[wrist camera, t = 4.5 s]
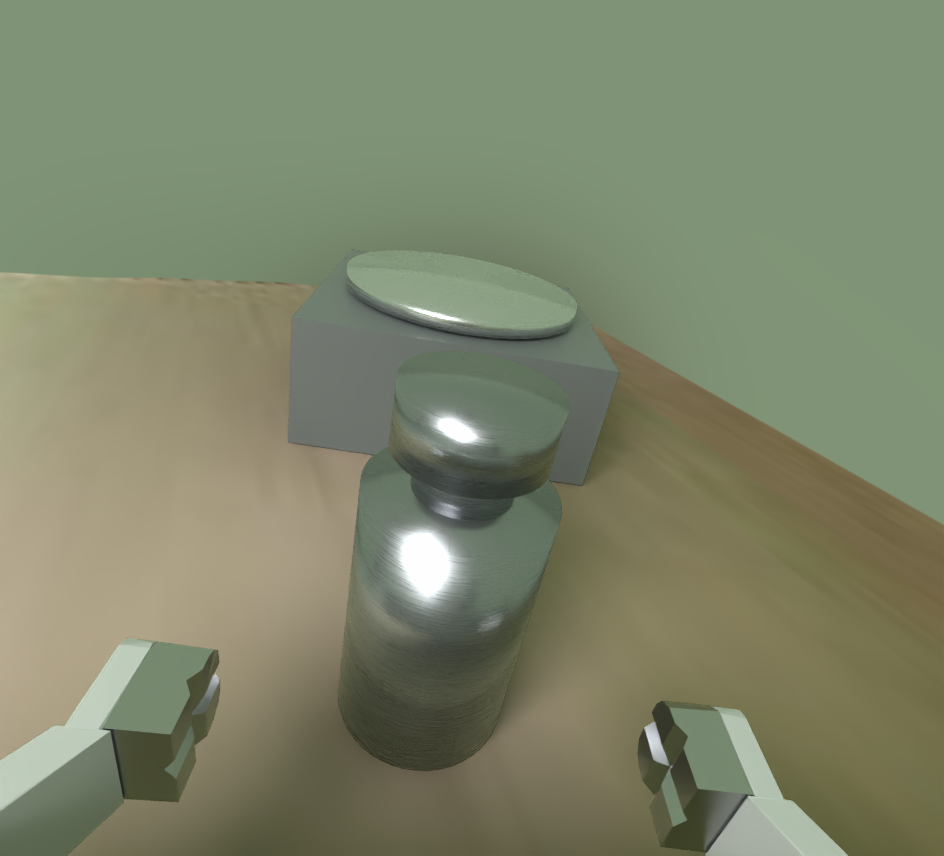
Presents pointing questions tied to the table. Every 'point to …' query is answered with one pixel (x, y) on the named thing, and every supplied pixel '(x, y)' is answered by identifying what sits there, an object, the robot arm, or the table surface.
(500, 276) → the scale pan
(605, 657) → the table surface
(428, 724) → the calibration weight
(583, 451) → the scale base
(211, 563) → the table surface
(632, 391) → the table surface
